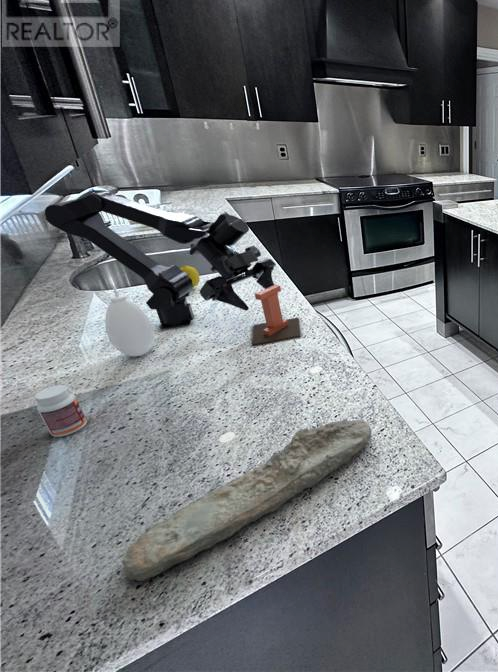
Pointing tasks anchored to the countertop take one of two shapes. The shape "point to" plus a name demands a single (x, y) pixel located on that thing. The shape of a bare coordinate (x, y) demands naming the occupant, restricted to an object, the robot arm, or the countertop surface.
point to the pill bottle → (60, 411)
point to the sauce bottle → (128, 326)
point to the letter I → (271, 309)
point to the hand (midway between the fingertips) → (262, 302)
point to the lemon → (192, 274)
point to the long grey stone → (245, 498)
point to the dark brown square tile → (282, 334)
